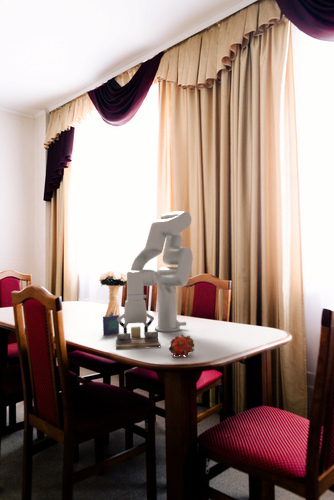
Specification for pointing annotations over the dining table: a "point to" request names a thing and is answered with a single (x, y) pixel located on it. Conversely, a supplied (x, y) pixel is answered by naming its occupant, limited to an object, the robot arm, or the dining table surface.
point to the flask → (110, 324)
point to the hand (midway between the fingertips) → (135, 336)
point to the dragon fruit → (181, 345)
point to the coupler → (135, 332)
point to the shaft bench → (137, 341)
